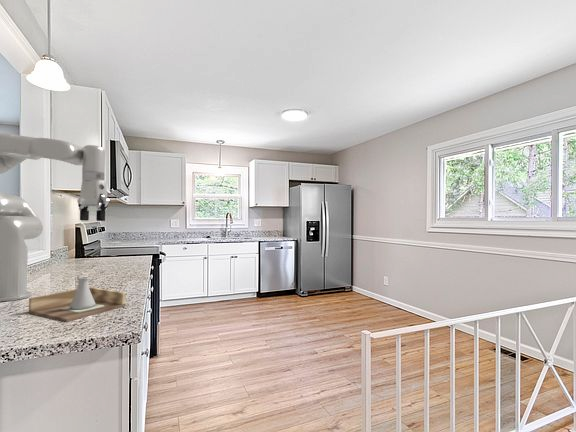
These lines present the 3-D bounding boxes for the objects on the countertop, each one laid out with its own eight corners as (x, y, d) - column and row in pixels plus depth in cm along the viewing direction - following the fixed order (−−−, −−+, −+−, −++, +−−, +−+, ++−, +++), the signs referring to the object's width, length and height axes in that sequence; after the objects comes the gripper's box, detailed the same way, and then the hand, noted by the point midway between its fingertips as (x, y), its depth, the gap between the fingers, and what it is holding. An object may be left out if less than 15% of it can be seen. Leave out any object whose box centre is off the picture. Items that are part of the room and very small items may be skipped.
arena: (28, 313, 103) (29, 298, 103) (88, 299, 121) (89, 286, 121) (67, 321, 95) (67, 305, 95) (125, 305, 113) (125, 292, 113)
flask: (64, 309, 105) (65, 278, 105) (82, 303, 112) (83, 275, 112) (83, 310, 103) (83, 280, 103) (100, 305, 110) (100, 276, 110)
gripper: (117, 177, 125) (116, 221, 124) (88, 179, 132) (87, 220, 131) (99, 175, 118) (98, 220, 117) (69, 177, 125) (68, 220, 124)
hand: (92, 220), depth 124 cm, fingers open, 9 cm apart
